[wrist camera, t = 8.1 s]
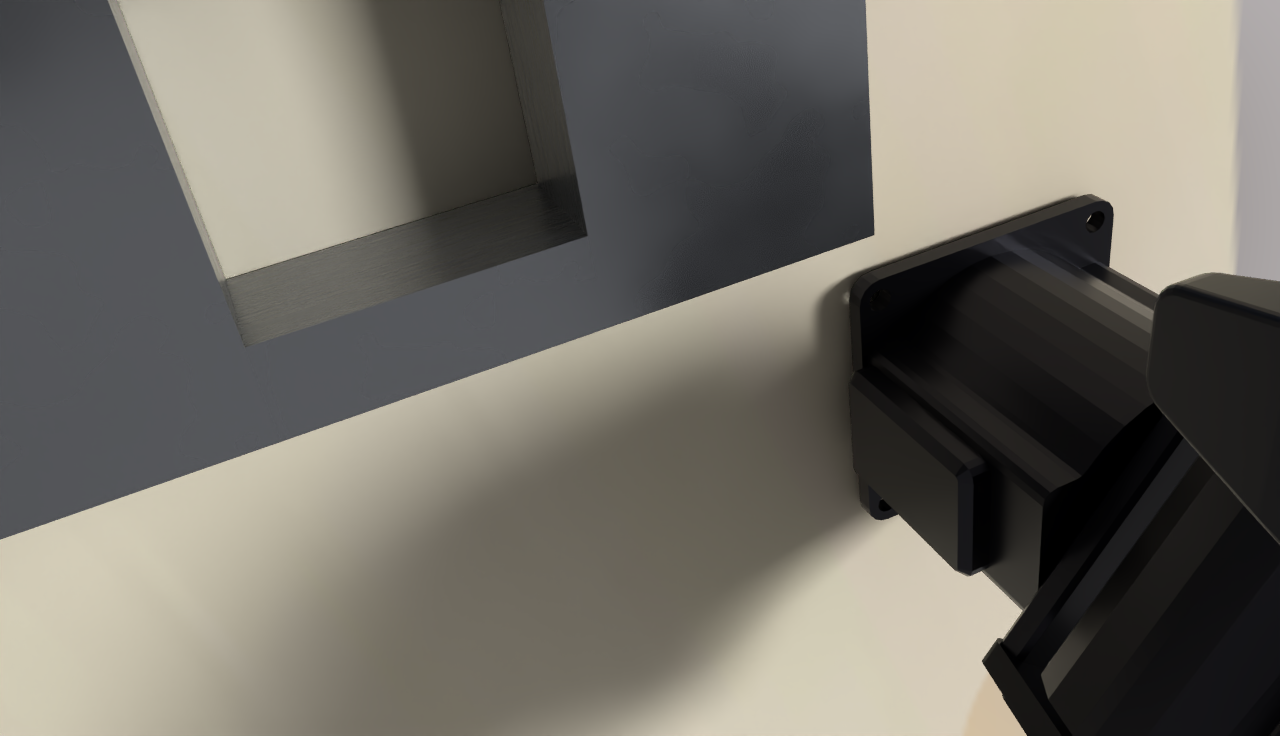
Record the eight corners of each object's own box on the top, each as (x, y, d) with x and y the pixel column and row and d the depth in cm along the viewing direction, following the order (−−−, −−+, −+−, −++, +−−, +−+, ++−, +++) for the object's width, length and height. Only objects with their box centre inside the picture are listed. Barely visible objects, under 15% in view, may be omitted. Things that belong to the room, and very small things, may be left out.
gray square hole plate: (765, -344, 18) (851, -348, 16) (804, 187, 23) (874, 235, 21) (-420, -111, 14) (-501, -78, 12) (-64, 474, 19) (-78, 567, 17)
